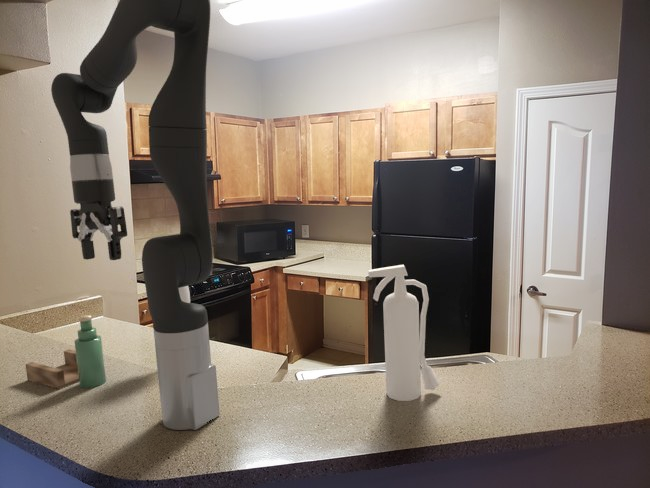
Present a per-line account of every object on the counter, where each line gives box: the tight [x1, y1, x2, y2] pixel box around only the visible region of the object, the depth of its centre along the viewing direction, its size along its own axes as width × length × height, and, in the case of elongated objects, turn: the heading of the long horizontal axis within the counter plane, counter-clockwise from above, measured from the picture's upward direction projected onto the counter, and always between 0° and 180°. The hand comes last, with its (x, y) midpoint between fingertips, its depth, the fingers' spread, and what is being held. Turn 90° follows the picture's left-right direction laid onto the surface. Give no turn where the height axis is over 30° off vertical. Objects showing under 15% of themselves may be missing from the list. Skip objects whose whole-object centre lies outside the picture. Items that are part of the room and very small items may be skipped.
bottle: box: [74, 314, 107, 389], centre depth 106 cm, size 5×5×15 cm
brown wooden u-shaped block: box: [25, 349, 79, 390], centre depth 112 cm, size 12×10×4 cm
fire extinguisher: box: [368, 264, 442, 402], centre depth 93 cm, size 7×12×25 cm, turn 85°
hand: (102, 259), depth 100 cm, fingers open, 8 cm apart
